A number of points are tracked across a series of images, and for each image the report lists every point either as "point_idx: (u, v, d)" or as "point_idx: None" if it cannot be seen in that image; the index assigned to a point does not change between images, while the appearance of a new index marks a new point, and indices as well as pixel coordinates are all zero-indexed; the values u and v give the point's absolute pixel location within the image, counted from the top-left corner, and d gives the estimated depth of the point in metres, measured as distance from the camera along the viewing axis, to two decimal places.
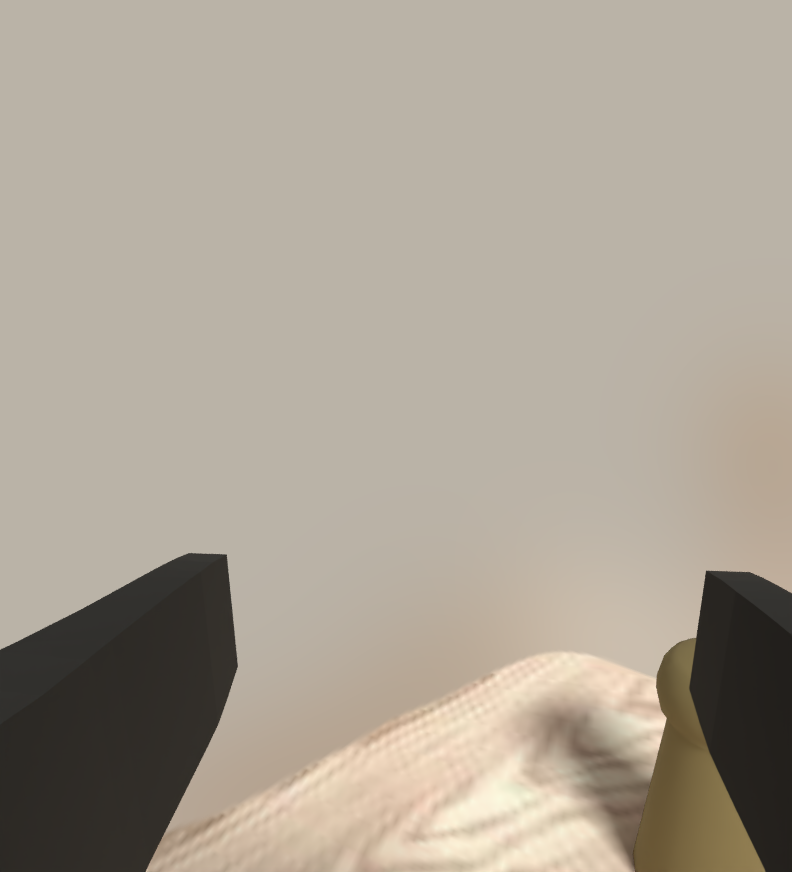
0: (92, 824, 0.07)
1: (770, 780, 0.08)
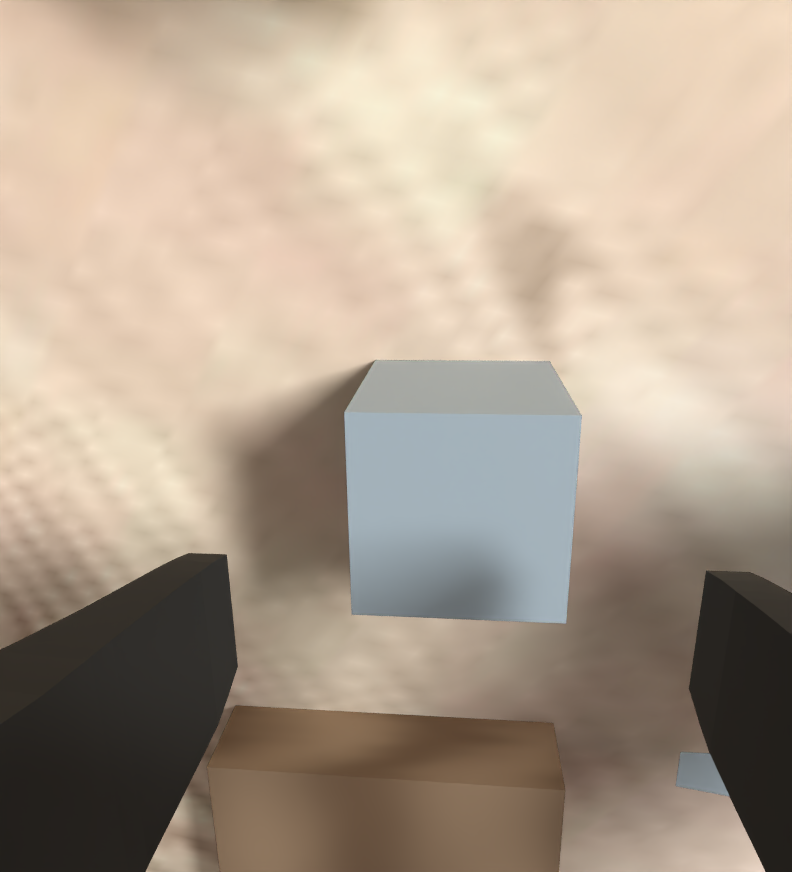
0: (92, 824, 0.07)
1: (769, 780, 0.08)
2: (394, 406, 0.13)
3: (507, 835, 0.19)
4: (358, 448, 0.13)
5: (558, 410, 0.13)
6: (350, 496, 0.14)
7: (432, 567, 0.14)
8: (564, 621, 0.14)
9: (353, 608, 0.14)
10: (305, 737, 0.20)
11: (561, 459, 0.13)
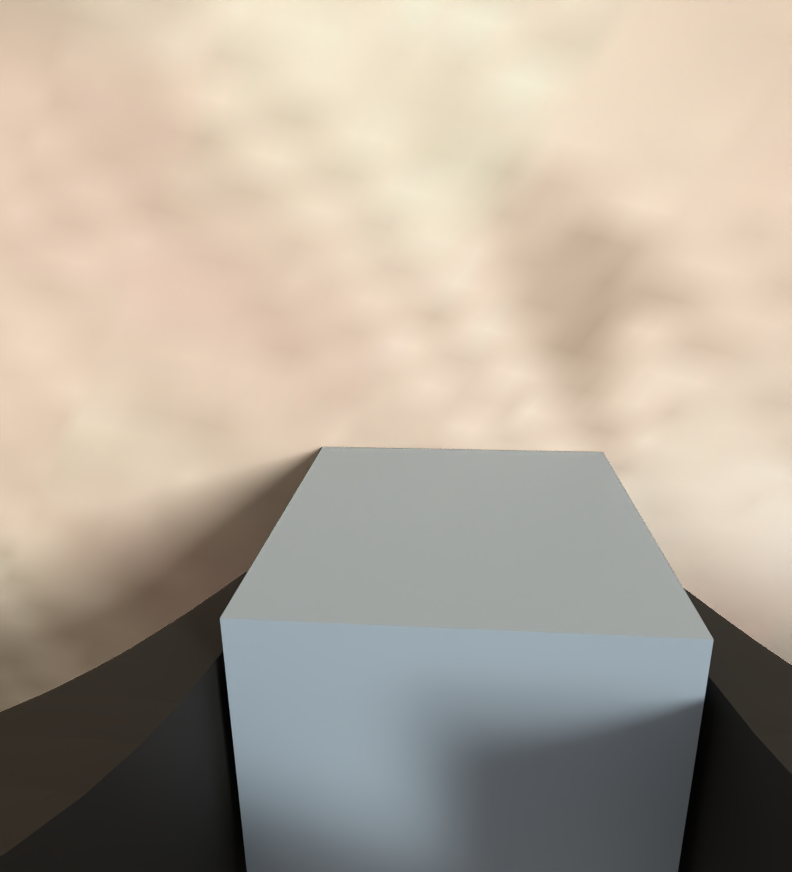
0: (213, 833, 0.07)
1: None
2: (326, 597, 0.07)
3: None
4: (252, 684, 0.07)
5: (657, 613, 0.06)
6: (242, 767, 0.07)
7: None
8: None
9: None
10: None
11: (665, 720, 0.06)
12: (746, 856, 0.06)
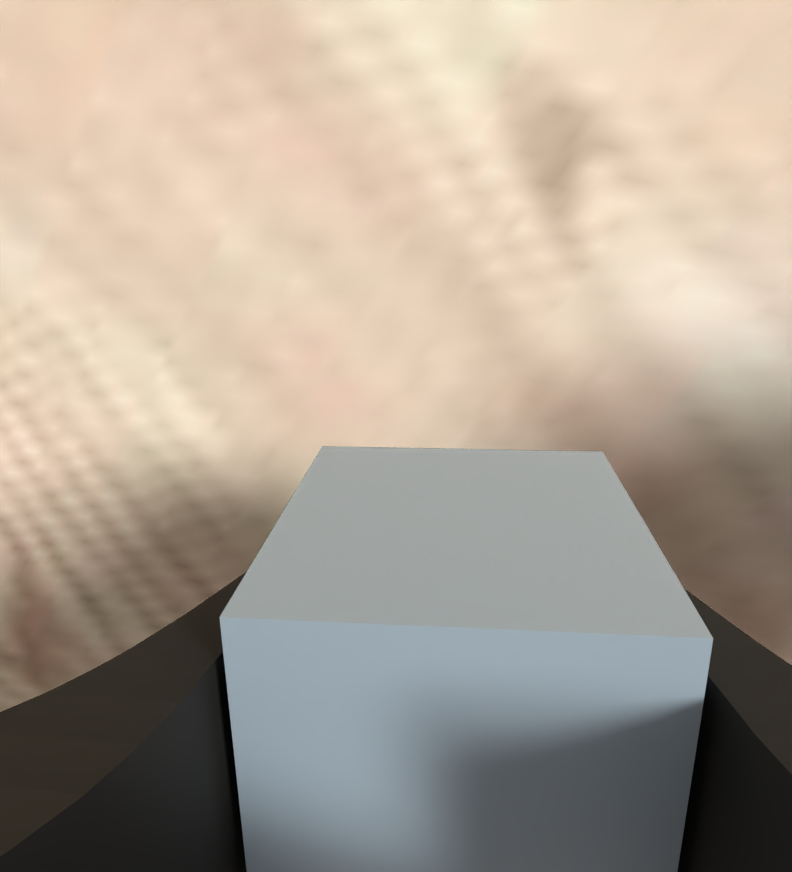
0: (213, 833, 0.07)
1: None
2: (325, 595, 0.07)
3: None
4: (252, 683, 0.07)
5: (656, 612, 0.06)
6: (242, 767, 0.07)
7: None
8: None
9: None
10: None
11: (664, 719, 0.06)
12: (746, 856, 0.06)
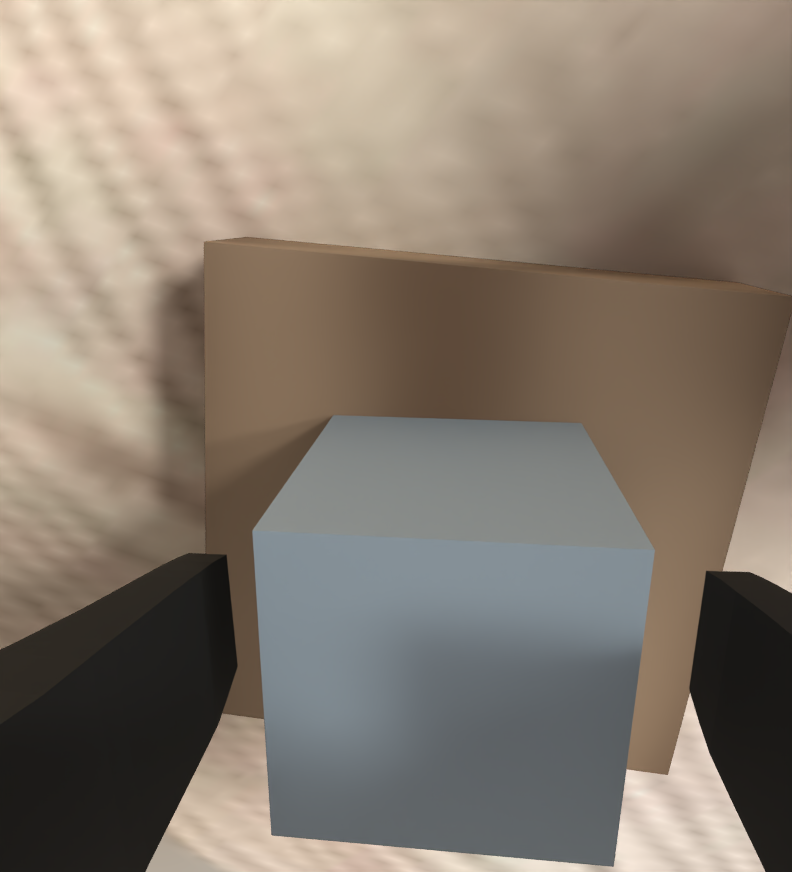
0: (92, 824, 0.07)
1: (769, 781, 0.08)
2: (339, 518, 0.08)
3: (680, 388, 0.12)
4: (277, 588, 0.08)
5: (611, 533, 0.08)
6: (266, 662, 0.08)
7: (399, 773, 0.09)
8: (611, 863, 0.09)
9: (274, 826, 0.09)
10: (359, 251, 0.13)
11: (616, 620, 0.08)
12: None
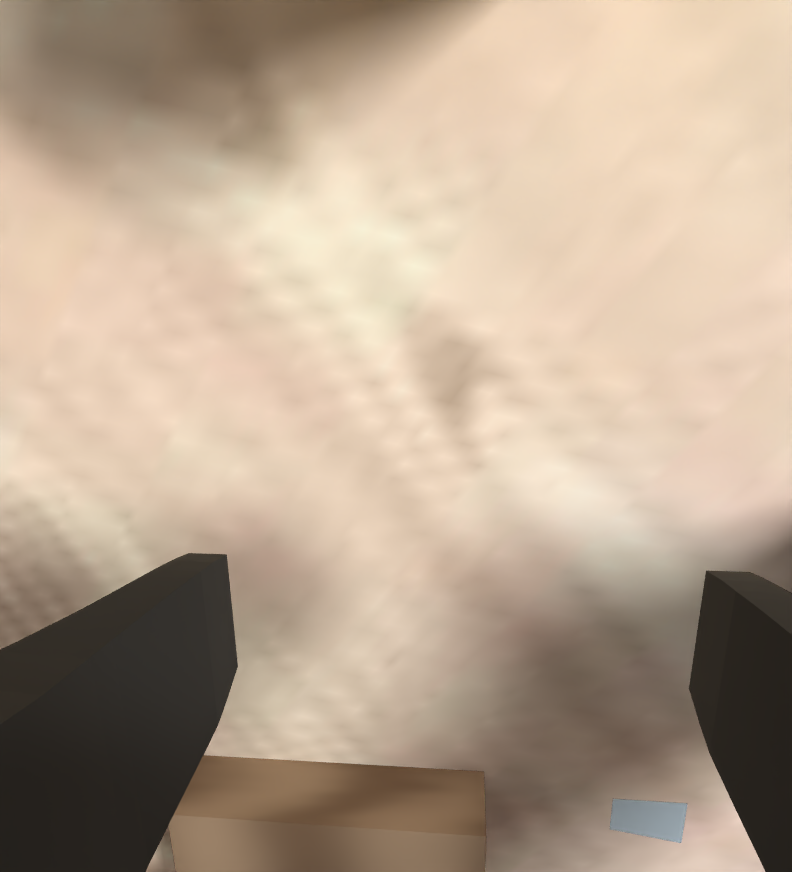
0: (92, 824, 0.07)
1: (769, 780, 0.08)
2: None
3: None
4: None
5: None
6: None
7: None
8: None
9: None
10: (257, 785, 0.22)
11: None
12: None
